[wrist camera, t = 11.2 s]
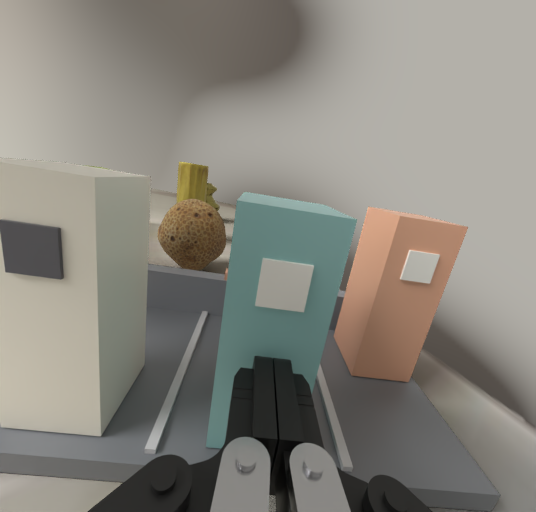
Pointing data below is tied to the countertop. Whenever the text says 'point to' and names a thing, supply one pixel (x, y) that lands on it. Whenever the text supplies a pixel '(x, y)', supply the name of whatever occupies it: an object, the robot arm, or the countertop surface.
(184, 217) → the natural sponge
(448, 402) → the countertop surface
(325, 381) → the grey divided tray
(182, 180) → the vase
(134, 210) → the key cream
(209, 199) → the olive glossy tiered piece
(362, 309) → the key terracotta
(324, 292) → the key teal
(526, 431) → the countertop surface
